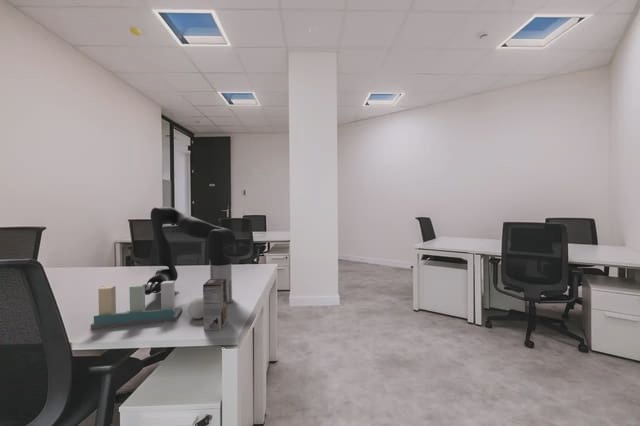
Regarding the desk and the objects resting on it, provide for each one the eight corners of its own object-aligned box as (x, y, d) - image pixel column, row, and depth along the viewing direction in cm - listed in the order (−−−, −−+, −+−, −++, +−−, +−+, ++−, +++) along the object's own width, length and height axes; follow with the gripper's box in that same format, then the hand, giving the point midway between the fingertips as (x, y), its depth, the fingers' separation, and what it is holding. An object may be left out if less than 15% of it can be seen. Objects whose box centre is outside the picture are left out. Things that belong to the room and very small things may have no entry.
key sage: (145, 314, 118) (144, 283, 118) (142, 318, 114) (141, 286, 114) (133, 315, 117) (133, 284, 117) (130, 319, 113) (129, 287, 113)
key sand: (115, 317, 115) (115, 285, 115) (111, 321, 111) (111, 288, 111) (103, 318, 114) (103, 286, 114) (99, 322, 110) (98, 289, 110)
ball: (184, 322, 114) (184, 301, 114) (191, 315, 122) (191, 295, 122) (206, 321, 115) (206, 300, 114) (212, 314, 123) (212, 294, 122)
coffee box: (210, 321, 115) (209, 278, 114) (227, 320, 115) (227, 278, 115) (202, 331, 105) (202, 284, 105) (222, 330, 106) (221, 283, 106)
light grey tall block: (174, 310, 123) (174, 280, 122) (172, 313, 119) (172, 282, 119) (163, 311, 122) (163, 281, 121) (161, 314, 118) (160, 283, 118)
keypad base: (182, 311, 127) (182, 300, 127) (176, 321, 115) (175, 309, 115) (105, 317, 120) (105, 306, 120) (90, 329, 108) (90, 316, 108)
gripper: (142, 275, 142) (129, 284, 125) (173, 274, 145) (164, 282, 128) (142, 291, 142) (129, 302, 125) (173, 289, 145) (164, 300, 129)
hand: (147, 292), depth 127 cm, fingers closed
